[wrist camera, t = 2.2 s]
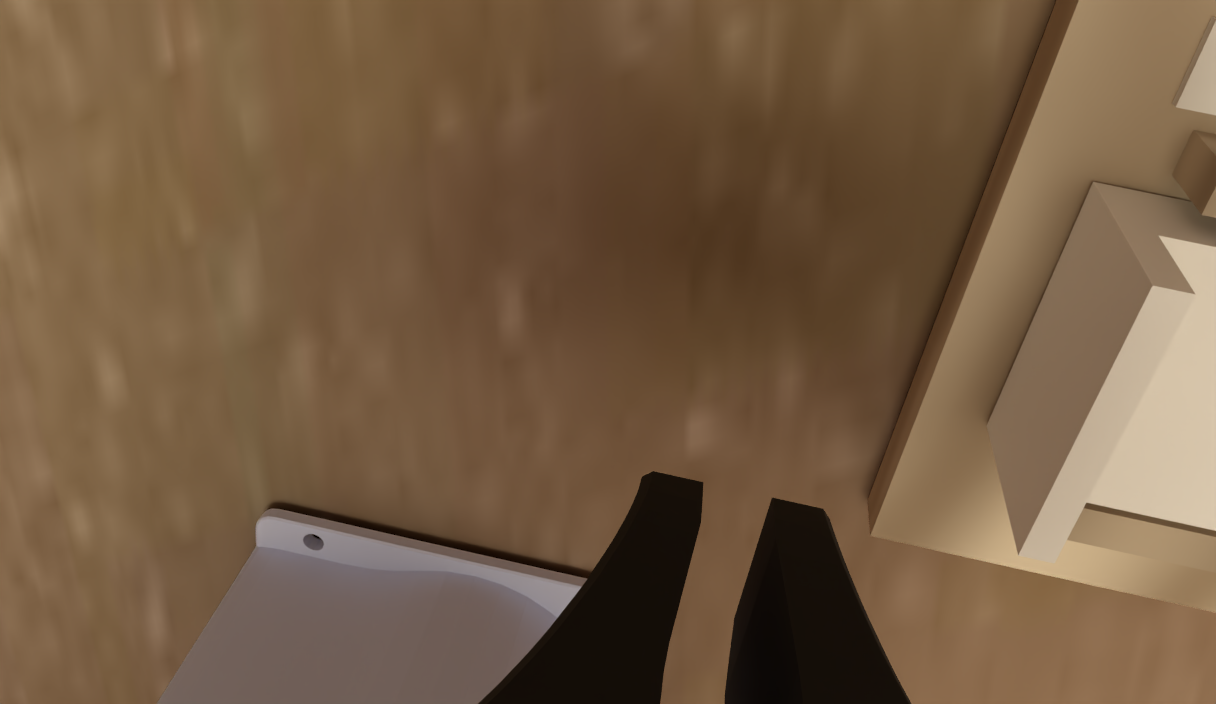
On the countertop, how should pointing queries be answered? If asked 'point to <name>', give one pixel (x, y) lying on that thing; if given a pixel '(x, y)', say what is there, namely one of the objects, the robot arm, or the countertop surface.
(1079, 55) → the linear slide rail
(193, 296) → the countertop surface
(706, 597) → the countertop surface
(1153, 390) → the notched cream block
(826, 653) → the robot arm
